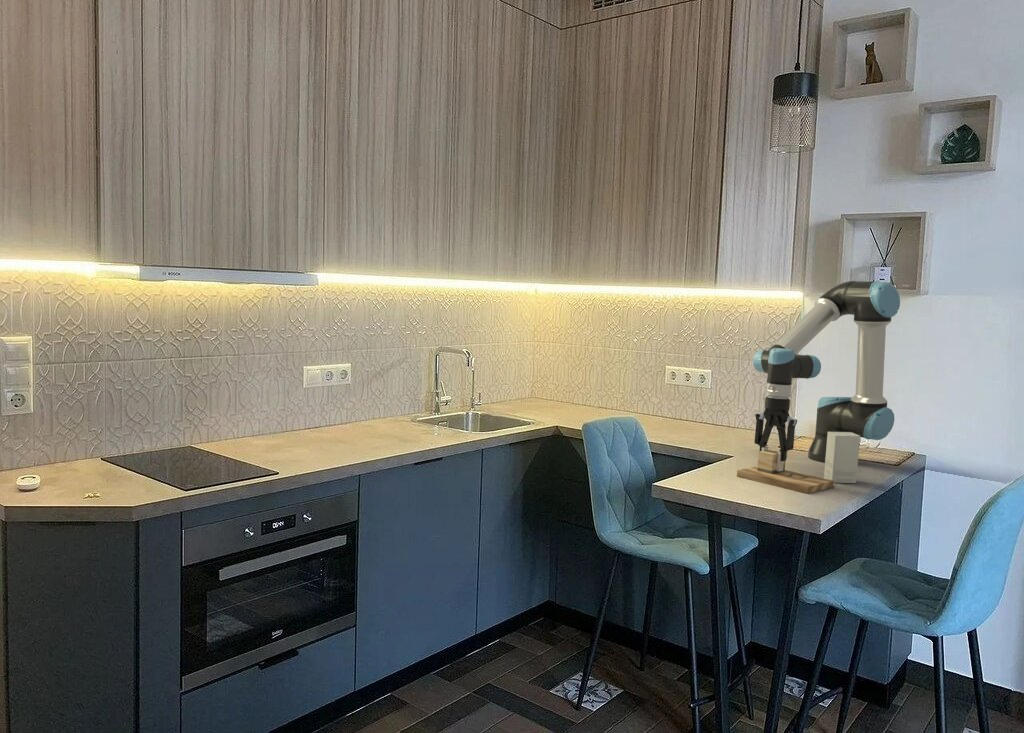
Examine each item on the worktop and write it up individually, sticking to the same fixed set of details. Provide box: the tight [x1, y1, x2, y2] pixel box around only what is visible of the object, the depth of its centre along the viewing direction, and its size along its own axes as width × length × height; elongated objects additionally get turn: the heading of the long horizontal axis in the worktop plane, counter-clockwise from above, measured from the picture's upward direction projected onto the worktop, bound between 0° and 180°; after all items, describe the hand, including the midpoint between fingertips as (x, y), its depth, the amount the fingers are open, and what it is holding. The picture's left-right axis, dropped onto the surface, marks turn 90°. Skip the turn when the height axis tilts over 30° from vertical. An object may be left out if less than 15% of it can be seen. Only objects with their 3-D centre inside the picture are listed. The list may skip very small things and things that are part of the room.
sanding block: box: [757, 449, 787, 473], centre depth 252 cm, size 8×5×6 cm, turn 131°
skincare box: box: [823, 432, 861, 484], centre depth 251 cm, size 8×7×16 cm
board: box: [736, 465, 835, 495], centre depth 247 cm, size 16×24×2 cm, turn 41°
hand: (771, 468), depth 252 cm, fingers closed on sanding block, 5 cm apart
